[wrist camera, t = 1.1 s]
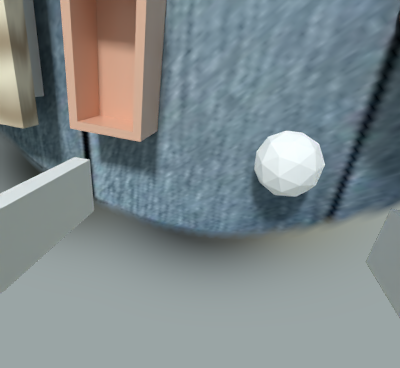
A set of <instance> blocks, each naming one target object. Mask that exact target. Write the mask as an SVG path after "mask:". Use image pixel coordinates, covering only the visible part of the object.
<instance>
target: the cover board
mask: <svg viewBox="0 0 400 368" xmlns="http://www.w3.org/2000/svg"><path fill="white" fill-rule="evenodd" d="M0 124H3V125H8V126H13V127H18V128H23V129H24V128H28V127H32V126H36V125H39V123H38V116H37V108H36V100H35V93H34V85H33V77H32V69H31V62H30V54H29V46H28V39H27V31H26V23H25V15H24V8H23V0H0Z"/></svg>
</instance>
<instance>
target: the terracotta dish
mask: <svg viewBox="0 0 400 368" xmlns="http://www.w3.org/2000/svg"><path fill="white" fill-rule="evenodd" d="M60 3H61V16H62V29H63V42H64V55H65V68H66V81H67V94H68V107H69V119H70V128H71V129H76V130H81V131H87V132H92V133H97V134H102V135H107V136H112V137H118V138H123V139H128V140H133V141H138V142H141V141H143V140H144V139H146V138H147V137H149V136H150V135H152V134H154V133H155V132H157V127H158V113H159V98H160V84H161V69H162V55H163V40H164V26H165V11H166V0H60Z"/></svg>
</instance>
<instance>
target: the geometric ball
mask: <svg viewBox="0 0 400 368" xmlns="http://www.w3.org/2000/svg"><path fill="white" fill-rule="evenodd" d="M324 166H325V163H324V159H323V156H322V152H321V149H320V145H319V144H318V143H317V142H315V141H314V140H313V139H311V138H310V137H308V136H307V135H305V134H303V133H302V132H293V131H284V132H281V133H278V134H275V135H272V136H269V137H268V138H267V139H266V140H265V141H264V143H263V144H262V145H261V146H260V148H259V149H258V150H257V152H256V160H255V168H254V170H255V172H256V175H257V177H258V180H259V182H260V183H261V184H262V185H263V186H265V187H266V188H267V189H268V190H269V191H270V192H272V193H273V194H274V195H281V196H293V197H296V196H298V195H300V194H302V193H304V192H307V191H308V190H310V189H311V188H313V187H314V186H315V185H316V184H317V181H318V179H319V177H320V175H321V172H322V170H323V168H324Z"/></svg>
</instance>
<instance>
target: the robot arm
mask: <svg viewBox="0 0 400 368" xmlns="http://www.w3.org/2000/svg"><path fill="white" fill-rule="evenodd" d="M93 211H94V204H93V193H92V181H91V170H90V160H88V159H82V158H76V157H74V158H72V159H70V160H68V161H66V162H64V163H62V164H60V165H58V166H56V167H54V168H52V169H49V170H47V171H45V172H43V173H41V174H39V175H37V176H35V177H33V178H31V179H29V180H27V181H25V182H23V183H21V184H19V185H17V186H15V187H13V188H11V189H9V190H7V191H5V192H3V193H0V294H1V293H2V292H3V291H5V290H6V289H7V288H8V287H9V286H10V285H11V284H12V283H13V282H14V281H16V280H17V279H18V278H19V277H20V276H21V275H22V274H24V273H25V272H26V271H27V270H28V269H29V268H30V267H31V266H33V265H34V264H35V263H36V262H37V261H38V260H39V259H40V258H41V257H43V256H44V255H45V254H46V253H47V252H48V251H49V250H50V249H52V248H53V247H54V246H55V245H56V244H57V243H58V242H59V241H61V240H62V239H63V238H64V237H65V236H66V235H67V234H68V233H69V232H70V231H72V230H73V229H74V228H75V227H76V226H77V225H78V224H80V222H82V221H83V220H84V219H85V218H86V217H87V216H89V215H90V214H91V213H92V212H93ZM366 263H367V265H368V267H369V268H370V270H371V271H372V273H373V275H374V276H375V278H376V280H377V281H378V283H379V285H380V286H381V288H382V290H383V291H384V293H385V295H386V296H387V298H388V300H389V301H390V303H391V304H392V306H393V308H394V309H395V311H396V313H397V314H398V316H399V318H400V210H394V209H391V210H390V212H389V214H388V216H387V218H386V220H385V222H384V225H383V227H382V229H381V231H380V233H379V235H378V237H377V239H376V241H375V243H374V245H373V248H372V250H371V252H370V254H369V256H368V258H367V260H366Z"/></svg>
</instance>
